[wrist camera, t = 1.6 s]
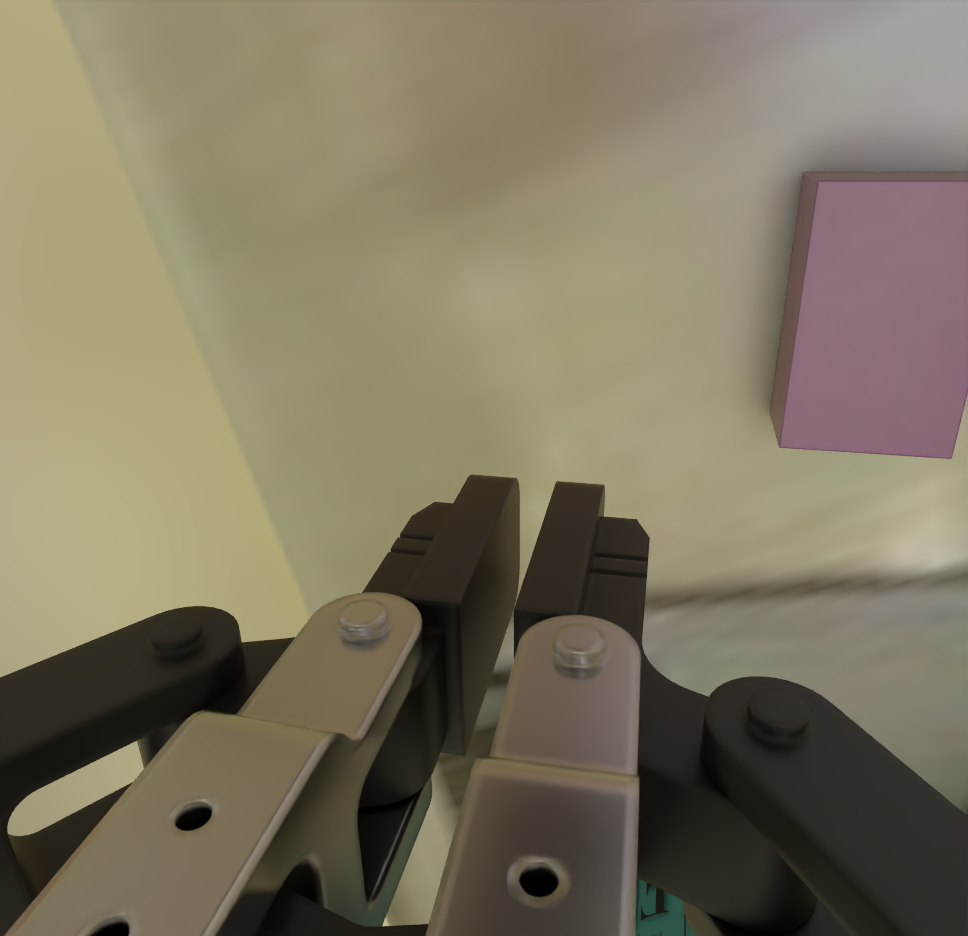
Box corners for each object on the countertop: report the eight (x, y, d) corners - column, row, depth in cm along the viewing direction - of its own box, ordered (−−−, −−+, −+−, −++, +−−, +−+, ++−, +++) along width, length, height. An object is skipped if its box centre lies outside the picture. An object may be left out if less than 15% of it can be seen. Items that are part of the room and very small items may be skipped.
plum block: (803, 171, 25) (818, 180, 22) (982, 171, 24) (1020, 180, 21) (769, 415, 28) (778, 448, 25) (925, 424, 27) (951, 459, 24)
